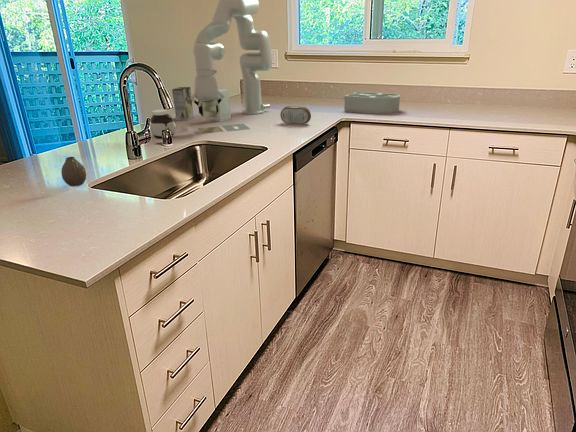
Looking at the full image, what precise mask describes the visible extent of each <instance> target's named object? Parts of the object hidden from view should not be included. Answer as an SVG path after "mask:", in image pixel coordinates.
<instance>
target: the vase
mask: <svg viewBox="0 0 576 432" xmlns="http://www.w3.org/2000/svg"><path fill="white" fill-rule="evenodd" d="M61 177H62V178H61V179H62V180H63V182H64V183H65V184H66V185H68V186H69V187H78V186H82V185H83V184H84V183H85V181H86V180H87V172H86V168H85V167H84V165H83V164H82V163H81V162H80V161H78V160H77V159H76V157H74V156H69V157H66V158H65V161H64V162H63V165H62V166H61Z"/></svg>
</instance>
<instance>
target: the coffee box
mask: <svg viewBox="0 0 576 432" xmlns="http://www.w3.org/2000/svg"><path fill="white" fill-rule="evenodd" d="M172 97H173V106H174V107H173V108H174V112H175V120H176V121H177V120H185V121H184V122H186V121H190V120H191V119H193V118H194V116H195V115H194V109H193V101H192V100H191V99H190V98H191V97H192V93H191V86H179V87H176V88H172Z"/></svg>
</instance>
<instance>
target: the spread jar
mask: <svg viewBox="0 0 576 432" xmlns="http://www.w3.org/2000/svg"><path fill="white" fill-rule="evenodd" d="M151 114H152V116H151V117H150V119H151V124H150V123H149V126H150V127H149V128H150V133H151V134H152V136H153V137H154V138H155V139H159V140H160V139H161V140H163V139H162V130H165V129H167V130H170V131H171V135H172V137H173V135H174V134H175V131H176V128H177V127H176V126H177V125H176V123H175V121H174V119H173V118H172V116H171V115H170V114H169V110H168V109H155V110H152V111H151Z"/></svg>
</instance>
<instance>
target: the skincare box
mask: <svg viewBox="0 0 576 432" xmlns="http://www.w3.org/2000/svg"><path fill="white" fill-rule="evenodd" d="M218 91H219V92H220V93H221V94H222V95H224V98H223V99H222V100H221V102H220V103H219V105H218V112H217V117H213V118H211V120H212V122H224V121H229V120H232V116H231V115H232V114H231V102H230V89H228V88H218ZM219 98H220V96H219V97H218V98H217V100H218V99H219ZM212 100H213V99H212Z"/></svg>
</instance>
